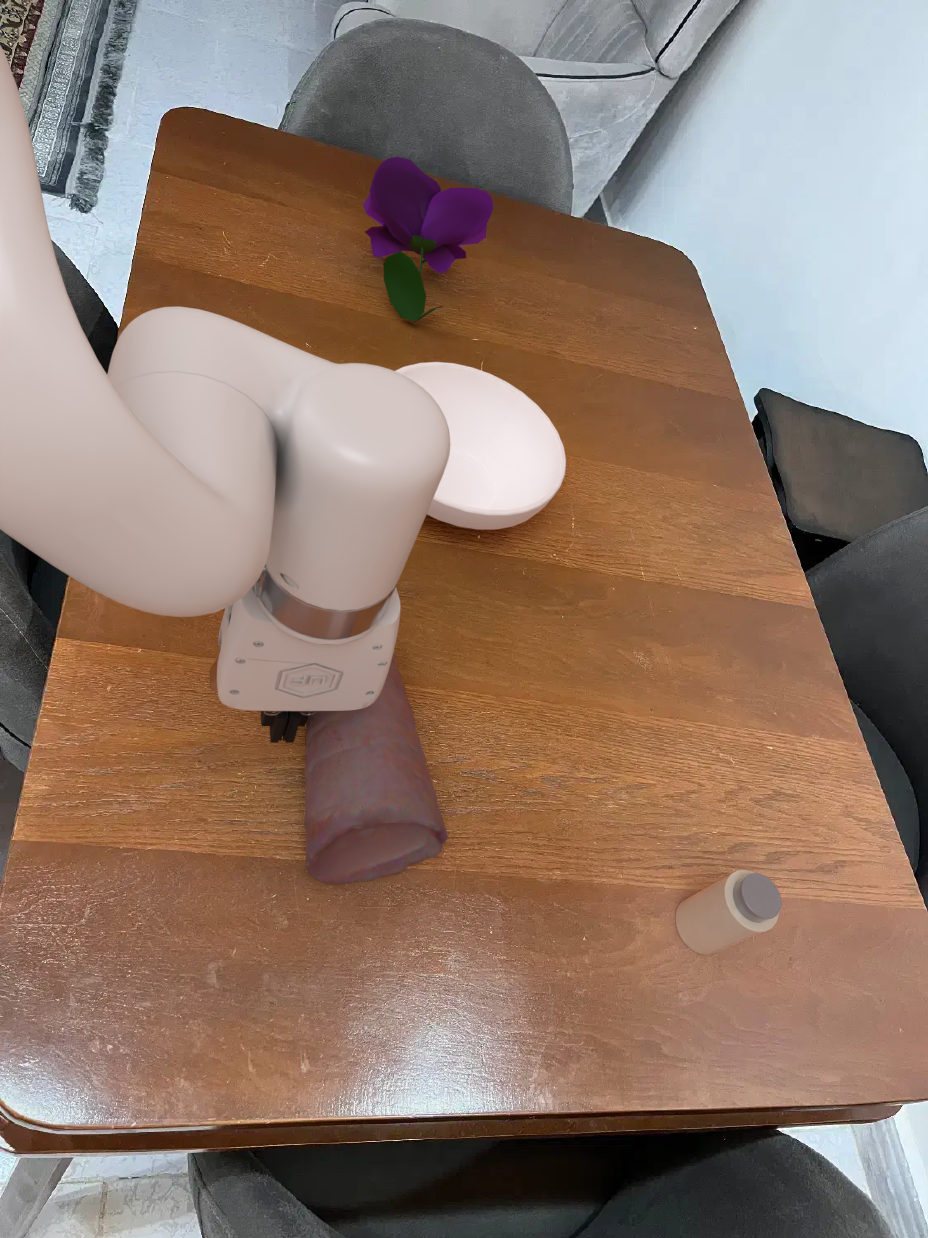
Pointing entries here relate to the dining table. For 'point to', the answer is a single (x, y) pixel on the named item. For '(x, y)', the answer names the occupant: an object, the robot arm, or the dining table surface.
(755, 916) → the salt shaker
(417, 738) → the brown tapered cylinder
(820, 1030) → the dining table surface
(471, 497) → the bowl
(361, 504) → the robot arm
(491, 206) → the flower
